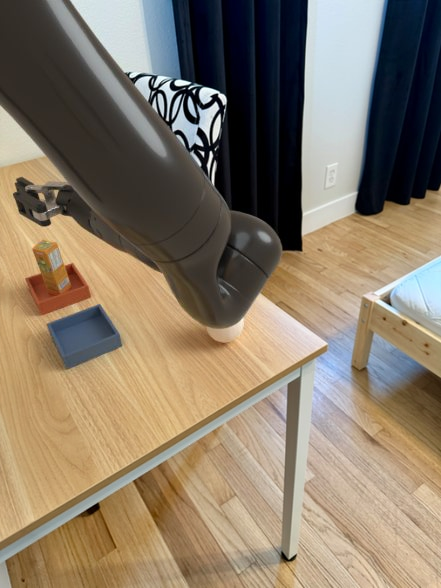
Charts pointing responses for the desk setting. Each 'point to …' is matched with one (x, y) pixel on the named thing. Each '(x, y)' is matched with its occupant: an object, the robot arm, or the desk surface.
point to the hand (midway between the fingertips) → (51, 174)
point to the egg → (226, 332)
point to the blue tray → (84, 335)
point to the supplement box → (51, 267)
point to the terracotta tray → (55, 302)
